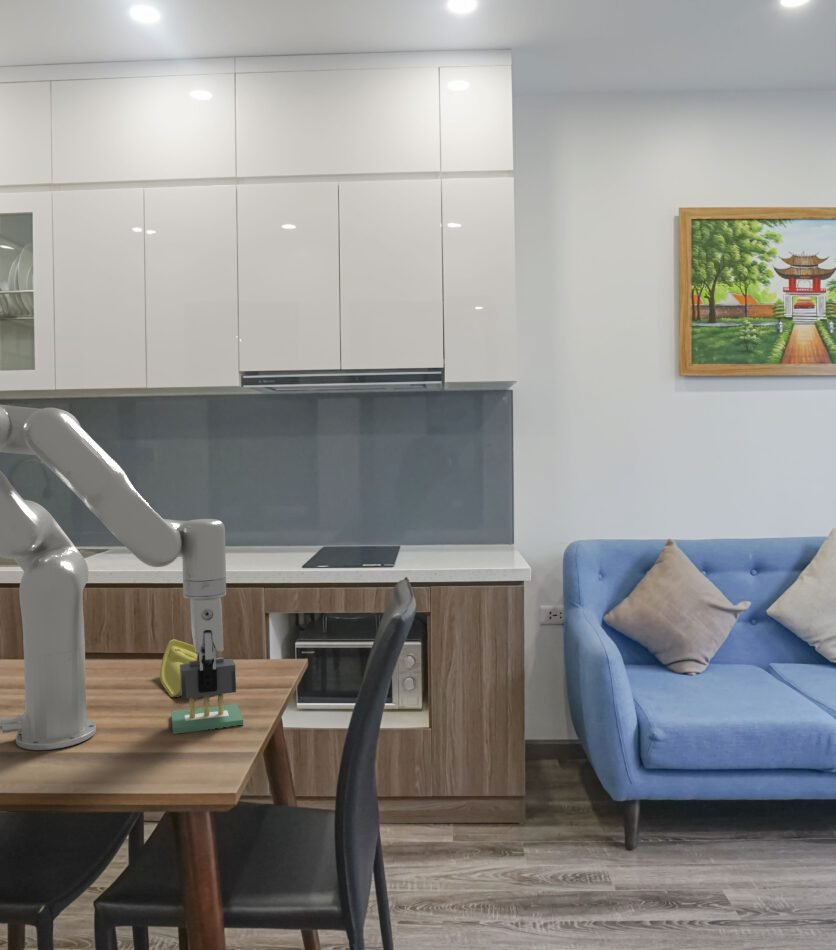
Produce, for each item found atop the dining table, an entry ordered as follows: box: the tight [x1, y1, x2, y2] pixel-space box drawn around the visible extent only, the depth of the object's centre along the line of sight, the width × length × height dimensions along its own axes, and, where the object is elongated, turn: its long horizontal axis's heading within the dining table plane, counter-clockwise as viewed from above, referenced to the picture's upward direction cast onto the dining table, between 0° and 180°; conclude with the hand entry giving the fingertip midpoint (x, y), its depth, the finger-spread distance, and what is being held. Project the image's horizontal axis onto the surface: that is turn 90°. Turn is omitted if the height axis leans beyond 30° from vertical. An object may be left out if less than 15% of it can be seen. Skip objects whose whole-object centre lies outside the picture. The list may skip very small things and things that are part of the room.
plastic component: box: [159, 639, 197, 698], centre depth 164 cm, size 20×7×10 cm
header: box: [171, 694, 244, 735], centre depth 141 cm, size 12×9×4 cm
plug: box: [180, 657, 237, 700], centre depth 141 cm, size 9×4×6 cm, turn 110°
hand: (206, 686), depth 141 cm, fingers closed on plug, 4 cm apart
